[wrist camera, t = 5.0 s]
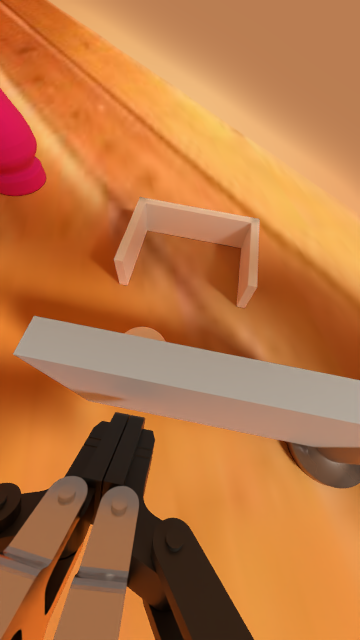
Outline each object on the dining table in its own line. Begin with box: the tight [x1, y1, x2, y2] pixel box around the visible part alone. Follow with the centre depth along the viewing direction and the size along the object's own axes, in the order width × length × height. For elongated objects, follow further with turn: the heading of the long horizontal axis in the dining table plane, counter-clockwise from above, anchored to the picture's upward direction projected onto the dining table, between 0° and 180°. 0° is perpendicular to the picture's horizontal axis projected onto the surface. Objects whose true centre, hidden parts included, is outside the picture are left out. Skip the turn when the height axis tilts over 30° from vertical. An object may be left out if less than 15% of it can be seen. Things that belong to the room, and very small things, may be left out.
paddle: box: [13, 316, 360, 465], centre depth 13 cm, size 20×3×11 cm, turn 79°
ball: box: [124, 327, 166, 342], centre depth 18 cm, size 4×4×4 cm
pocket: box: [114, 197, 259, 308], centre depth 24 cm, size 13×9×4 cm
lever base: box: [286, 441, 360, 488], centre depth 18 cm, size 6×6×1 cm
